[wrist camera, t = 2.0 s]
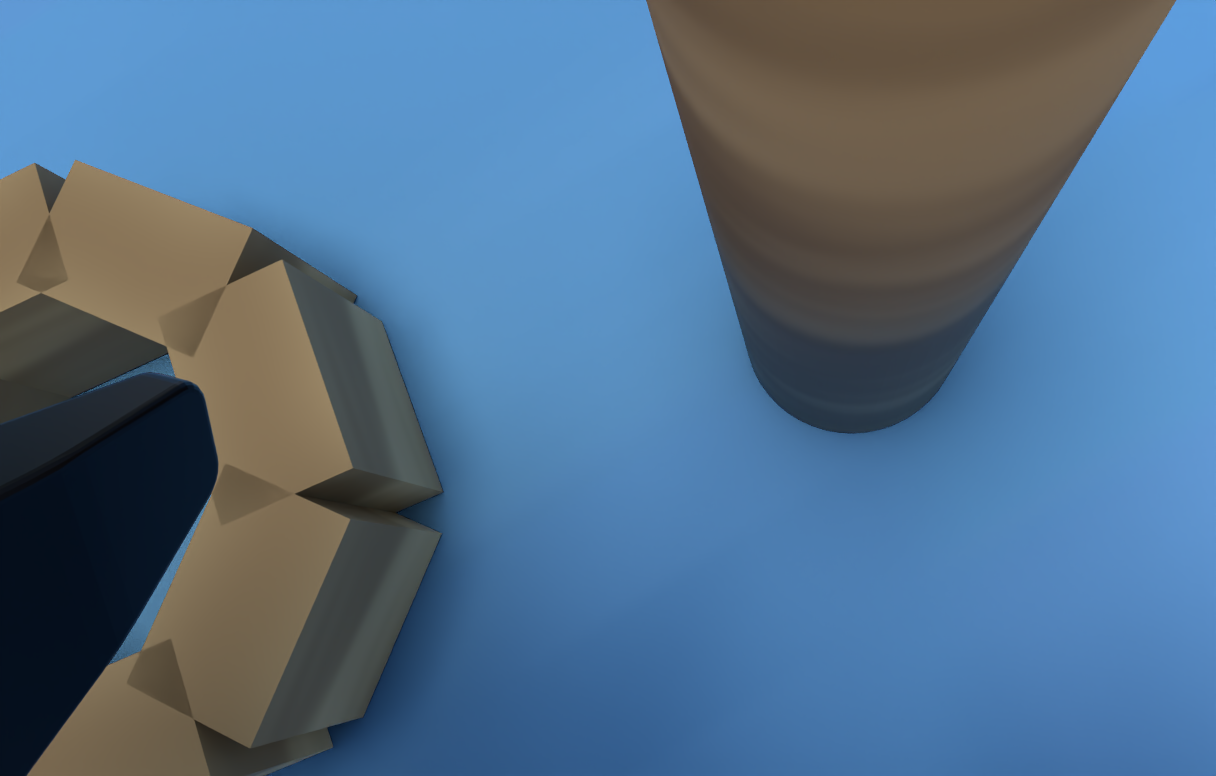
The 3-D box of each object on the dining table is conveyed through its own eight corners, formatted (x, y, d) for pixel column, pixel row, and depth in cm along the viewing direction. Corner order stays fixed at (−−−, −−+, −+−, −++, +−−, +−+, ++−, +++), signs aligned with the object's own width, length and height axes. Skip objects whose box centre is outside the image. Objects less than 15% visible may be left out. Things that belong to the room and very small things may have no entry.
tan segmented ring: (509, 674, 19) (430, 695, 15) (-3, 886, 20) (-197, 955, 16) (326, 165, 22) (218, 73, 18) (-122, 377, 23) (-316, 333, 19)
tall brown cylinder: (994, 382, 18) (1739, -494, 4) (795, 466, 19) (719, -10, 4) (902, 199, 19) (1194, -1129, 4) (714, 282, 20) (396, -681, 5)
